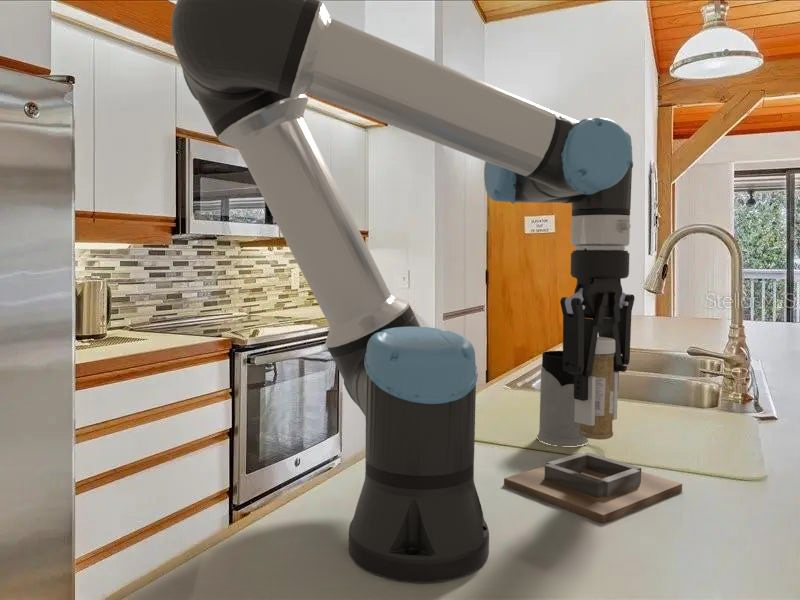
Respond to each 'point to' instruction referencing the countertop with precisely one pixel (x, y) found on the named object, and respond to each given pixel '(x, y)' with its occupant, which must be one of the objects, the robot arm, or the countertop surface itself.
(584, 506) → the socket board
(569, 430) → the grey mug
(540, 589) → the countertop surface
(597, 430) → the sprinkles bottle
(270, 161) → the robot arm
